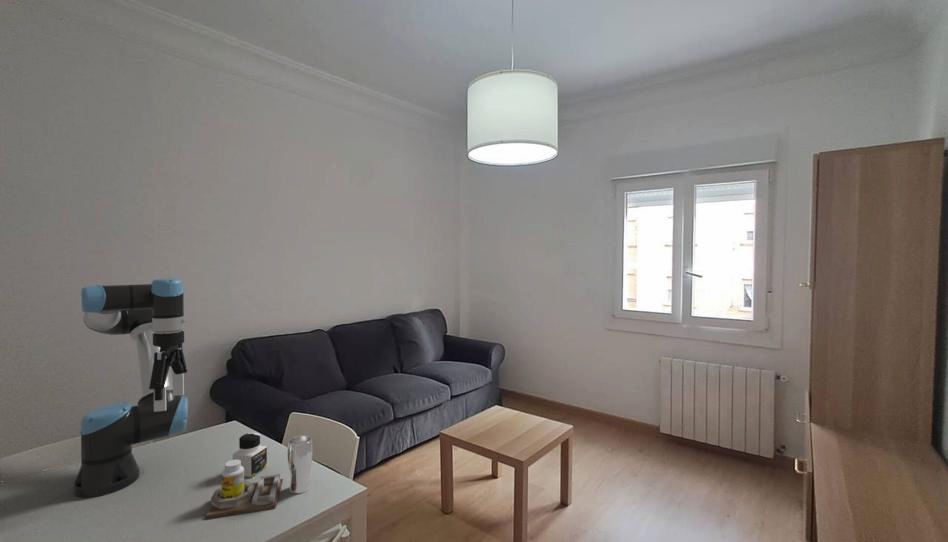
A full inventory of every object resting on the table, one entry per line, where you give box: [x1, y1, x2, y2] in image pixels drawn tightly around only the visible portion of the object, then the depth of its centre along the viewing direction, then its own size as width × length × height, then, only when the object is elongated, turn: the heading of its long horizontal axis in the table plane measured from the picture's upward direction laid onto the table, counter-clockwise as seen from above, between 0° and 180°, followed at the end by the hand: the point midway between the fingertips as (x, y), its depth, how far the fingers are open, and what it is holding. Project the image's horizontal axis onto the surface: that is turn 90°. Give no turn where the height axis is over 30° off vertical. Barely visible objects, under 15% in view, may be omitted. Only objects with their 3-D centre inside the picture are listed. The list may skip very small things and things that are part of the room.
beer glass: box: [287, 434, 313, 495], centre depth 126 cm, size 7×7×15 cm
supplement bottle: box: [221, 459, 245, 499], centre depth 119 cm, size 6×6×10 cm
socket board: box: [205, 473, 284, 520], centre depth 120 cm, size 14×17×3 cm
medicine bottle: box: [232, 432, 268, 478], centre depth 136 cm, size 7×7×12 cm
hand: (169, 402), depth 123 cm, fingers open, 13 cm apart
